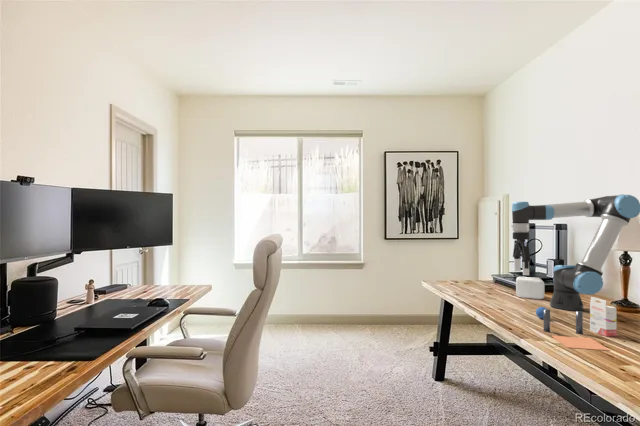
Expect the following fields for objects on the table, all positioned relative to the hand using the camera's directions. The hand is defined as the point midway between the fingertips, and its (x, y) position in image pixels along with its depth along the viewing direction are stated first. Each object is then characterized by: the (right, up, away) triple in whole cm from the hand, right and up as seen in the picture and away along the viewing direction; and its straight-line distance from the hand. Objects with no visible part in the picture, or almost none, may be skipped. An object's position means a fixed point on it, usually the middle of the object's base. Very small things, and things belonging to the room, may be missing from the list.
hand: (521, 273), depth 190 cm
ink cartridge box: (+15, -20, -35) cm, 43 cm away
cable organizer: (+25, -21, +38) cm, 50 cm away
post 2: (+5, -20, -35) cm, 40 cm away
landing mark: (-4, -19, -47) cm, 51 cm away
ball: (+3, -17, -12) cm, 21 cm away
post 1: (-7, -19, -32) cm, 38 cm away
